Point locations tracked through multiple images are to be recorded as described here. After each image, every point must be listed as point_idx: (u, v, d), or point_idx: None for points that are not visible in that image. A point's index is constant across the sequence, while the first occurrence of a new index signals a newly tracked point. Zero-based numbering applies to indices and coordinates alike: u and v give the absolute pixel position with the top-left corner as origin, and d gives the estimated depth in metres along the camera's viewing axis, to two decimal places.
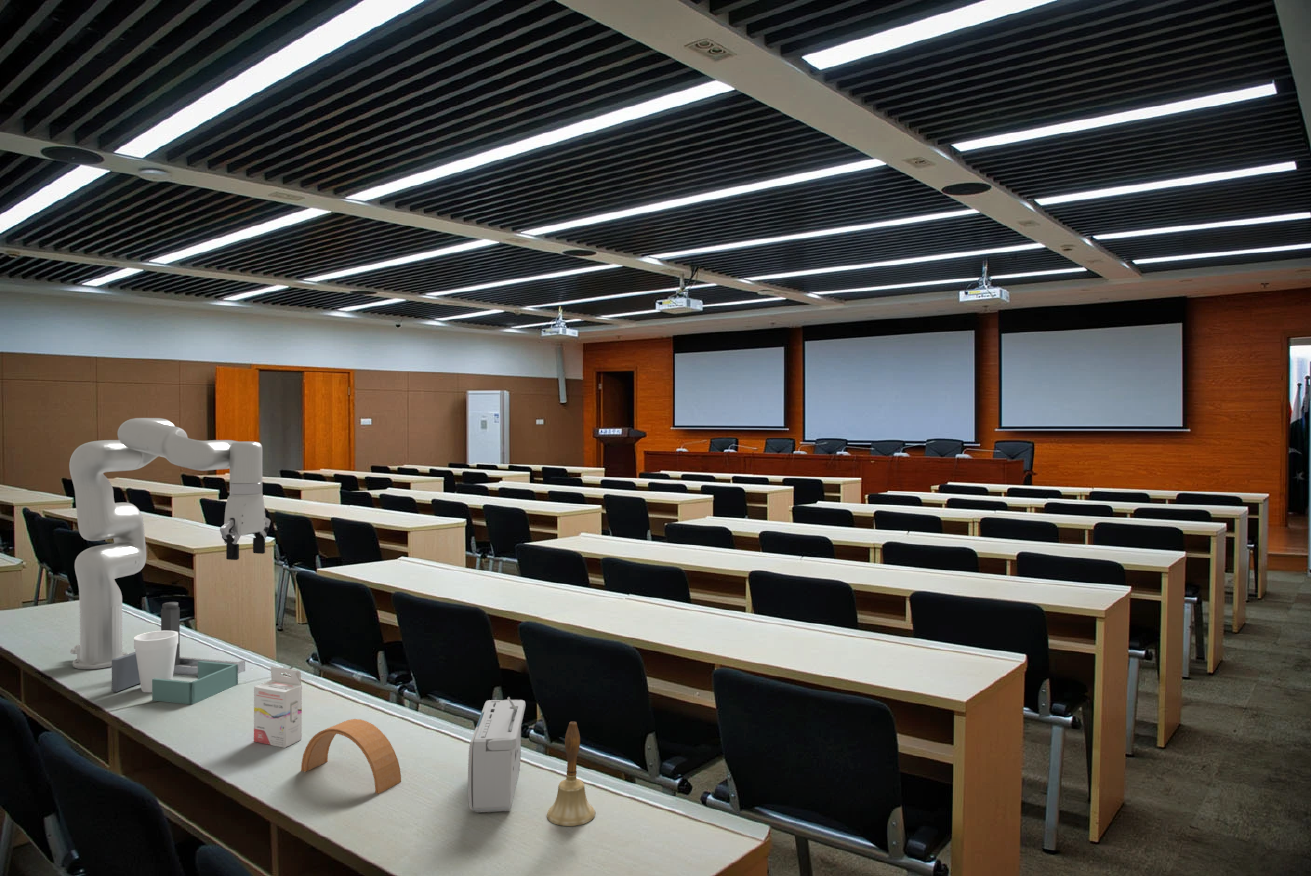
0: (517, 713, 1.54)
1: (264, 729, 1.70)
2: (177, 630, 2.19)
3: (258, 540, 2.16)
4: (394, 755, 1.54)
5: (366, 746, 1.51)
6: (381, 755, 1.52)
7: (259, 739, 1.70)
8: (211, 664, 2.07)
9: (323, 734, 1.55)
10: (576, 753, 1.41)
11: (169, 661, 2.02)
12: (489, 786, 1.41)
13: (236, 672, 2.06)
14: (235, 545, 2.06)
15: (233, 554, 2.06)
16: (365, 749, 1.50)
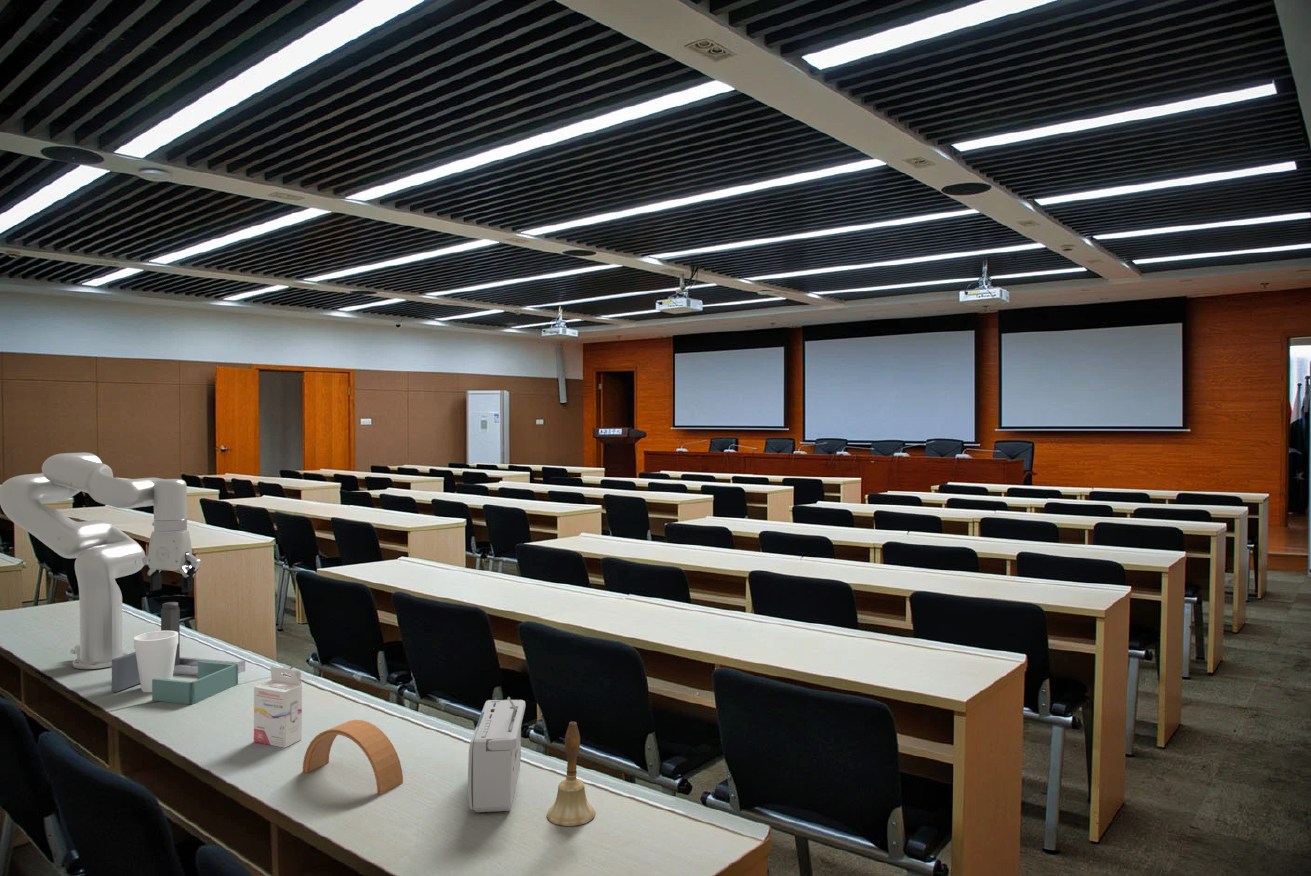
0: (517, 713, 1.54)
1: (264, 729, 1.70)
2: (177, 630, 2.19)
3: (157, 576, 2.19)
4: (396, 756, 1.54)
5: (368, 747, 1.50)
6: (383, 756, 1.51)
7: (259, 739, 1.70)
8: (211, 664, 2.07)
9: (325, 735, 1.55)
10: (576, 753, 1.41)
11: (169, 661, 2.02)
12: (489, 786, 1.41)
13: (236, 672, 2.06)
14: None
15: None
16: (367, 750, 1.50)
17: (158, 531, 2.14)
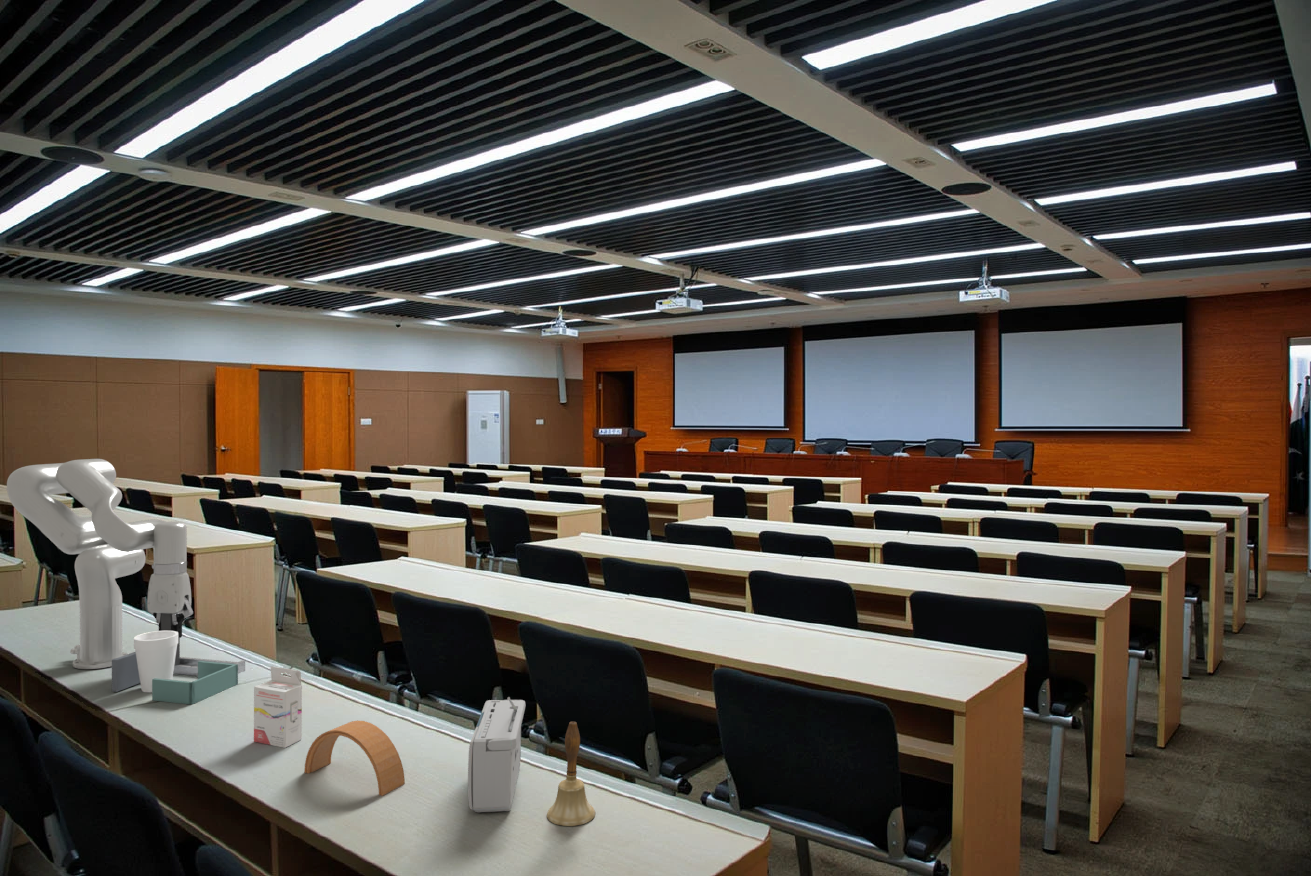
0: (517, 713, 1.54)
1: (264, 729, 1.70)
2: None
3: None
4: (398, 757, 1.53)
5: (369, 748, 1.50)
6: (384, 757, 1.51)
7: (259, 739, 1.70)
8: (211, 664, 2.07)
9: (326, 736, 1.54)
10: (576, 753, 1.41)
11: (169, 661, 2.02)
12: (489, 786, 1.41)
13: (236, 672, 2.06)
14: None
15: None
16: (368, 751, 1.49)
17: (158, 574, 2.14)
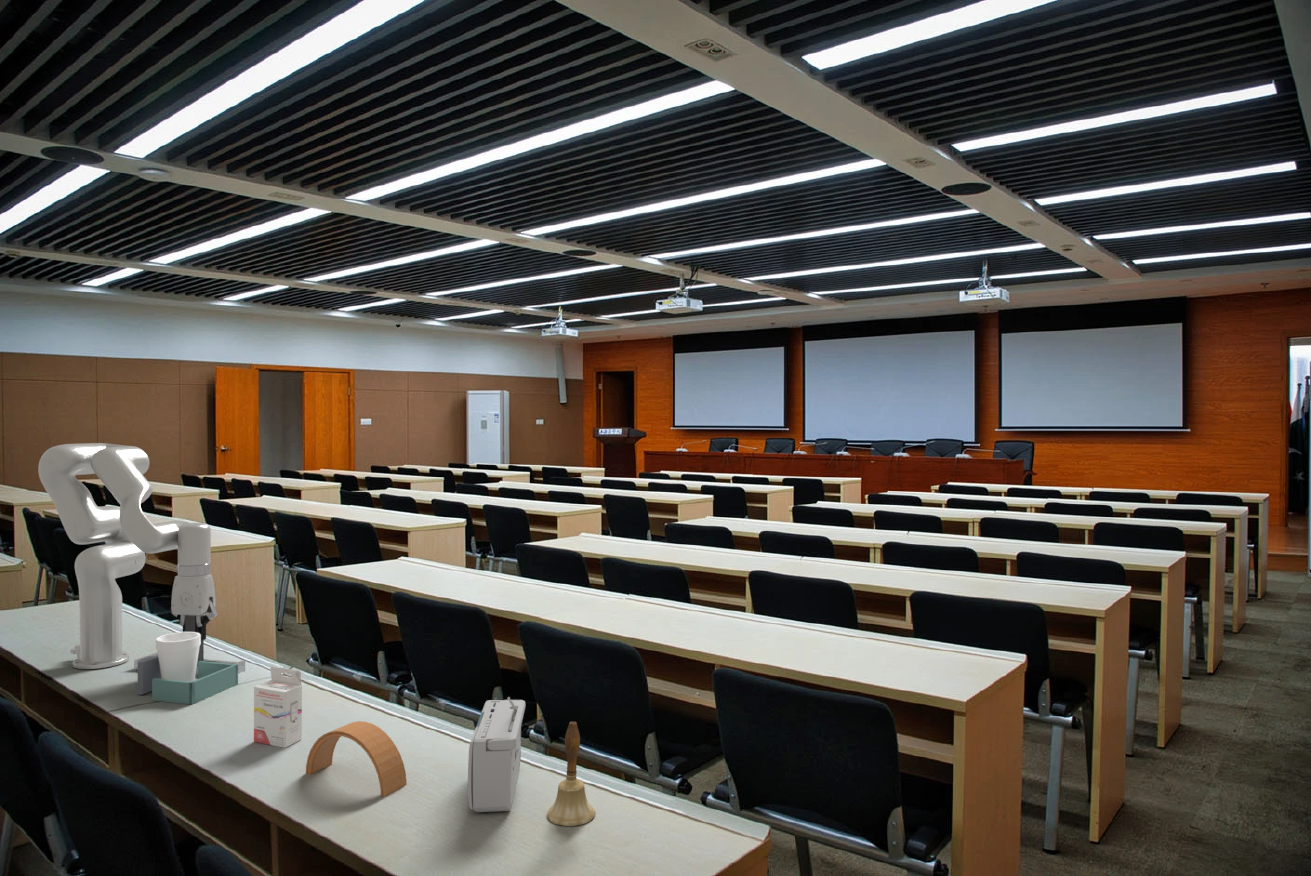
0: (517, 713, 1.54)
1: (264, 729, 1.70)
2: None
3: None
4: (399, 758, 1.53)
5: (371, 749, 1.50)
6: (386, 758, 1.51)
7: (259, 739, 1.70)
8: (211, 664, 2.07)
9: (328, 736, 1.54)
10: (576, 753, 1.41)
11: (193, 662, 2.01)
12: (489, 786, 1.41)
13: (236, 672, 2.06)
14: None
15: None
16: (370, 752, 1.49)
17: (182, 576, 2.13)
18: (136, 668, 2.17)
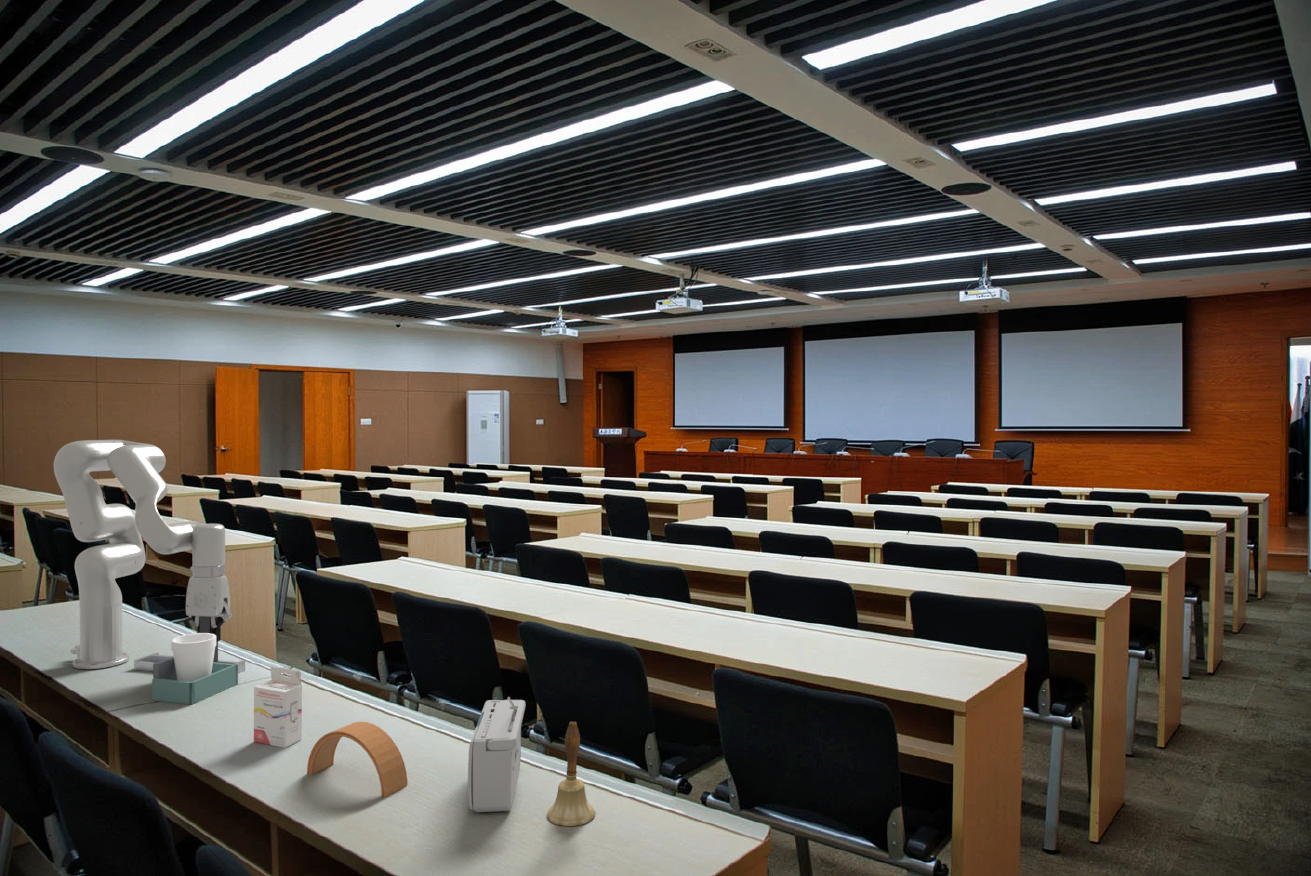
0: (517, 713, 1.54)
1: (264, 729, 1.70)
2: None
3: None
4: (400, 758, 1.53)
5: (372, 749, 1.49)
6: (387, 758, 1.50)
7: (259, 739, 1.70)
8: None
9: (329, 737, 1.54)
10: (576, 753, 1.41)
11: (208, 663, 2.00)
12: (489, 786, 1.41)
13: (236, 672, 2.06)
14: None
15: None
16: (371, 752, 1.49)
17: (197, 577, 2.12)
18: (136, 668, 2.17)
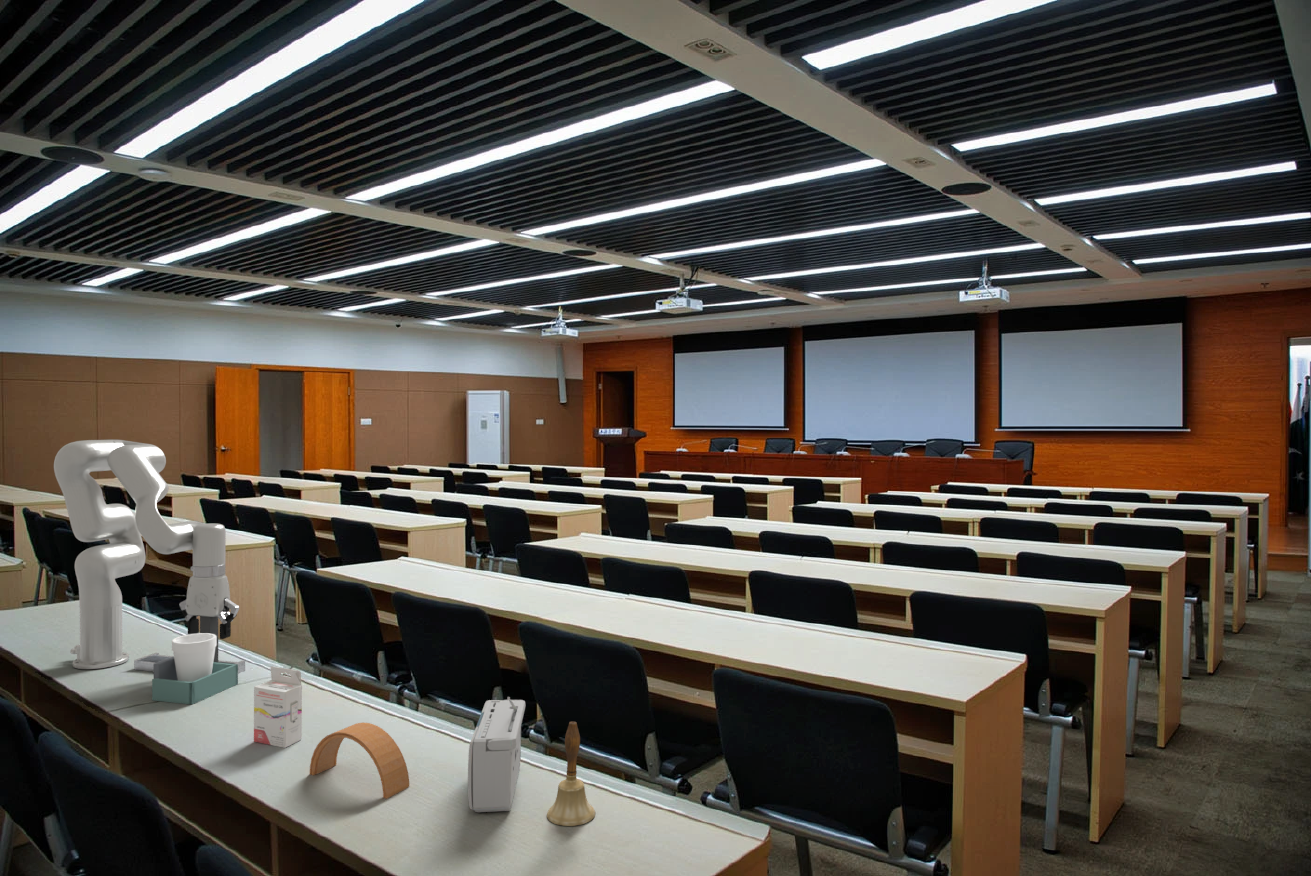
0: (517, 713, 1.54)
1: (264, 729, 1.70)
2: (216, 633, 2.16)
3: (195, 622, 2.17)
4: (402, 759, 1.52)
5: (374, 750, 1.49)
6: (389, 759, 1.50)
7: (259, 739, 1.70)
8: None
9: (331, 738, 1.53)
10: (576, 753, 1.41)
11: (209, 663, 2.00)
12: (489, 786, 1.41)
13: (236, 672, 2.06)
14: None
15: None
16: (373, 753, 1.48)
17: (197, 577, 2.12)
18: (136, 668, 2.17)
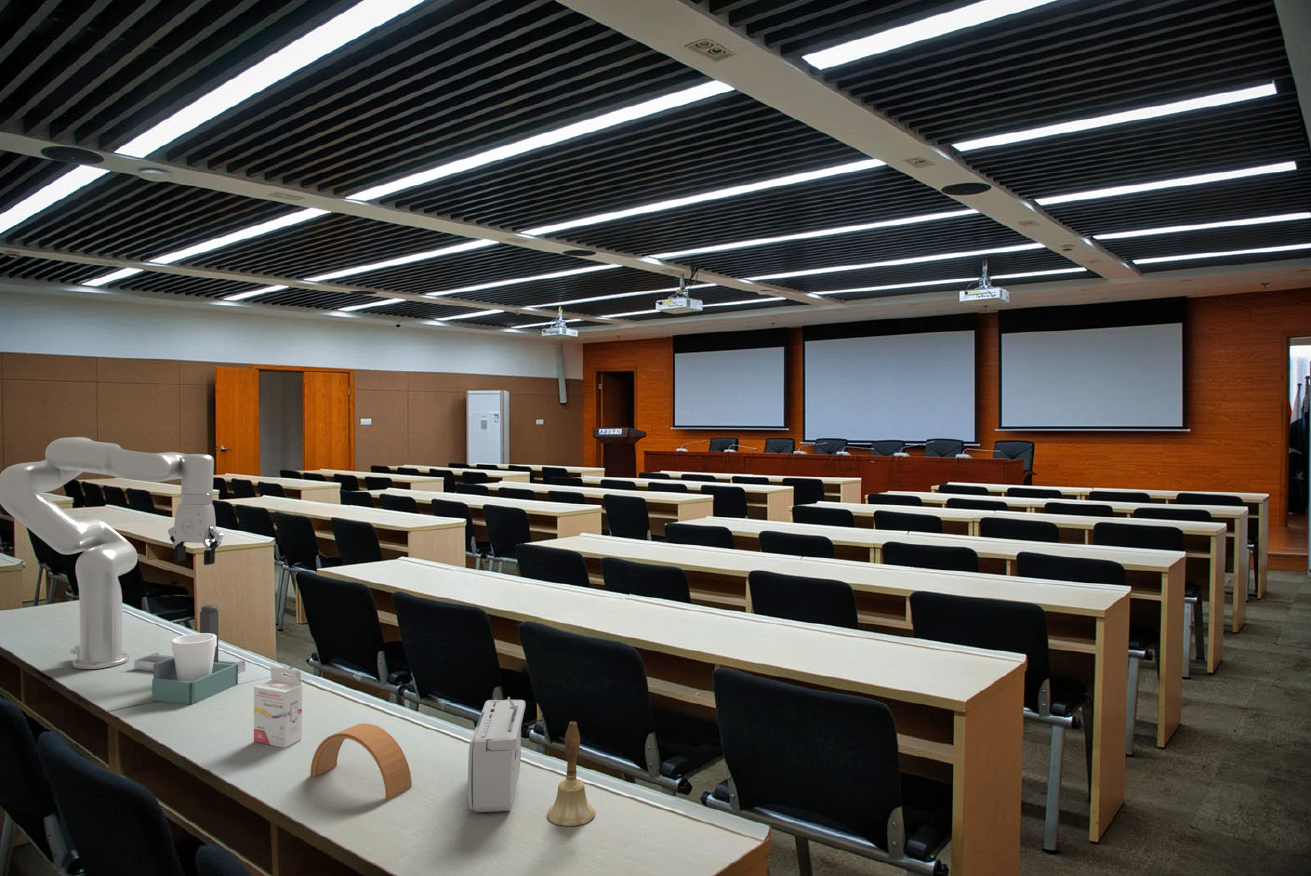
0: (517, 713, 1.54)
1: (264, 729, 1.70)
2: (216, 633, 2.16)
3: (182, 548, 2.26)
4: (404, 760, 1.52)
5: (376, 751, 1.49)
6: (391, 760, 1.50)
7: (259, 739, 1.70)
8: None
9: (333, 739, 1.53)
10: (576, 753, 1.41)
11: (209, 663, 2.00)
12: (489, 786, 1.41)
13: (236, 672, 2.06)
14: None
15: None
16: (375, 754, 1.48)
17: (184, 504, 2.20)
18: (136, 668, 2.17)
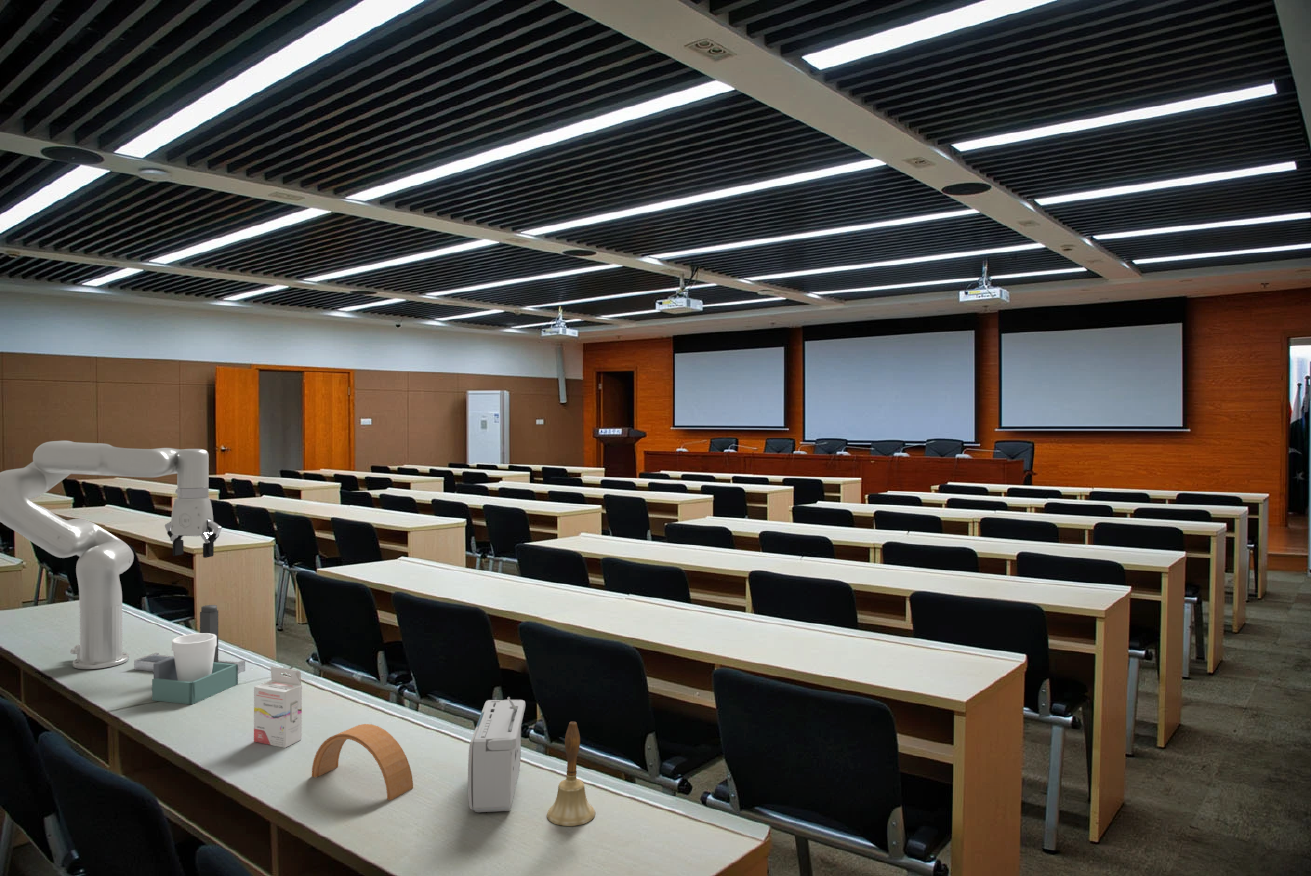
0: (517, 713, 1.54)
1: (264, 729, 1.70)
2: (216, 633, 2.16)
3: (179, 542, 2.28)
4: (406, 761, 1.51)
5: (377, 752, 1.48)
6: (393, 761, 1.49)
7: (259, 739, 1.70)
8: None
9: (334, 739, 1.53)
10: (576, 753, 1.41)
11: (209, 663, 2.00)
12: (489, 786, 1.41)
13: (236, 672, 2.06)
14: None
15: None
16: (377, 755, 1.48)
17: (181, 498, 2.23)
18: (136, 668, 2.17)
